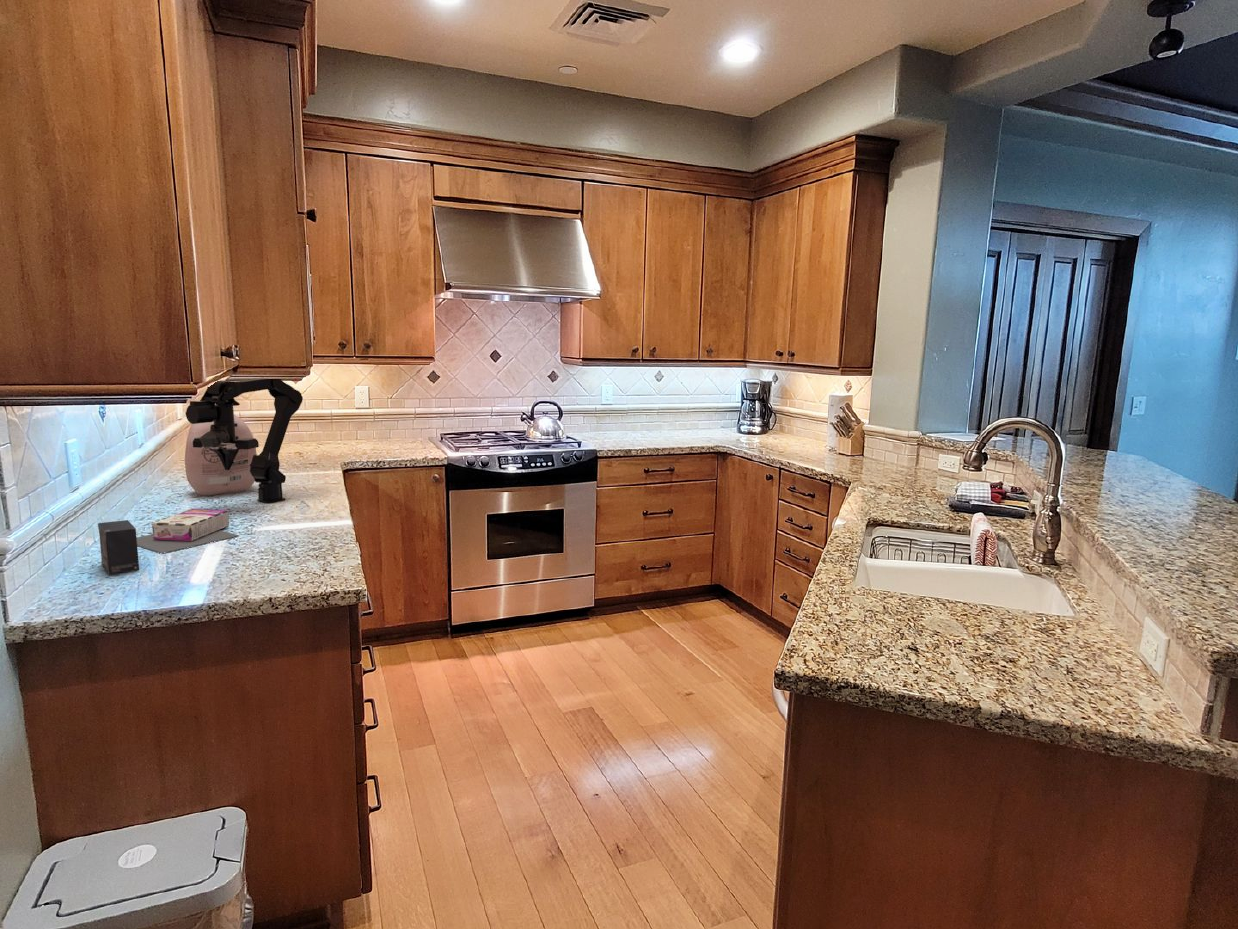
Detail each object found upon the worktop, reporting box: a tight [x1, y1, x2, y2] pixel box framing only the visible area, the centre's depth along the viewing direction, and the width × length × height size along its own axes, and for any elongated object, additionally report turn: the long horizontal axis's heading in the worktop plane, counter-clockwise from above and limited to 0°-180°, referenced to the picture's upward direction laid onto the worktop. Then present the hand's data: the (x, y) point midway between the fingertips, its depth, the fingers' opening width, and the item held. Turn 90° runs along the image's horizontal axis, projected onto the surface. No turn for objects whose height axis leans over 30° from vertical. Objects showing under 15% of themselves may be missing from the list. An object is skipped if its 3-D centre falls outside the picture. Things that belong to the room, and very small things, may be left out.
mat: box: [136, 529, 240, 554], centre depth 191 cm, size 20×20×1 cm
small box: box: [97, 519, 140, 576], centre depth 166 cm, size 11×6×10 cm, turn 43°
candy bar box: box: [151, 508, 230, 541], centre depth 195 cm, size 11×5×16 cm
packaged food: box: [184, 414, 258, 496], centre depth 243 cm, size 22×20×30 cm
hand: (227, 469), depth 221 cm, fingers closed
